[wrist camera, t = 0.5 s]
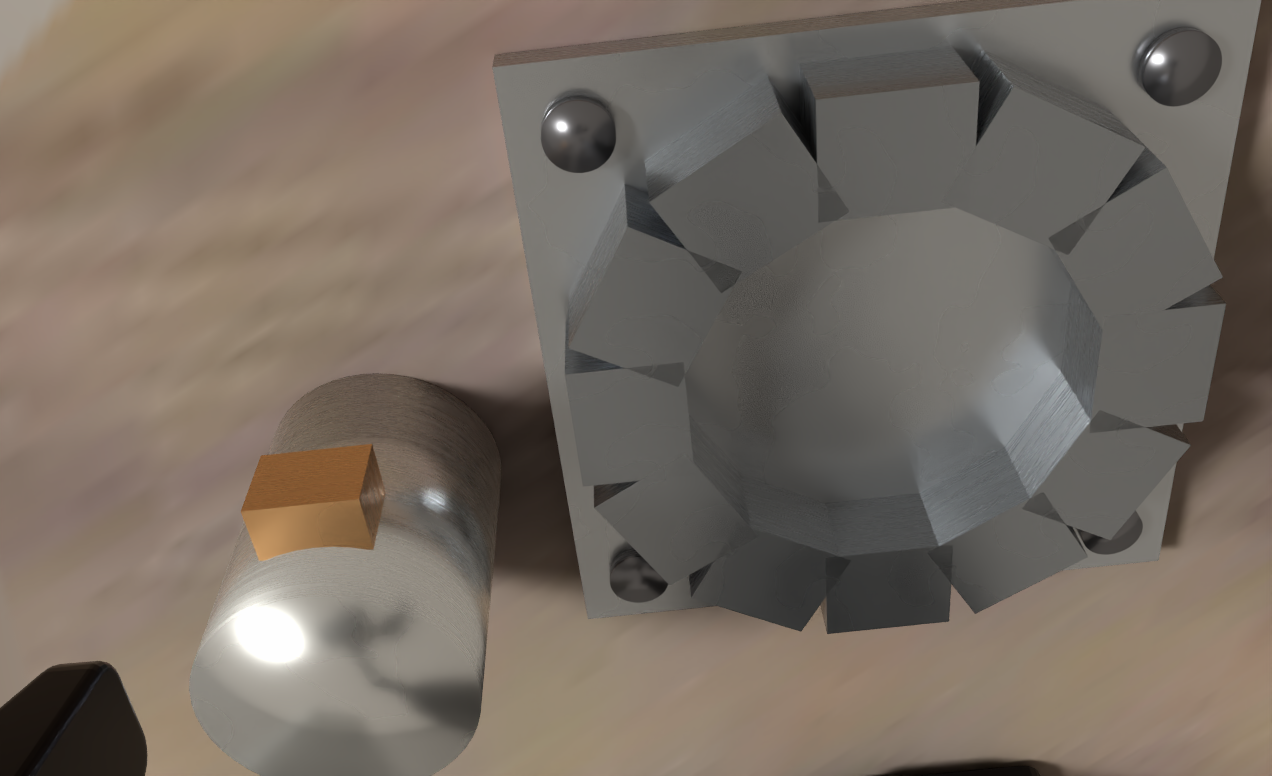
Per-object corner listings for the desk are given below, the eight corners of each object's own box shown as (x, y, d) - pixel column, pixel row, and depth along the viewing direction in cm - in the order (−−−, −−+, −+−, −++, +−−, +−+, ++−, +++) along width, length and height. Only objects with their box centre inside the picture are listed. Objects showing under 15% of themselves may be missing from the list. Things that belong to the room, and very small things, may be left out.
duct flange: (1147, 541, 26) (1190, 614, 24) (588, 599, 26) (588, 676, 24) (1247, -32, 19) (1317, 9, 17) (494, 54, 19) (486, 104, 18)
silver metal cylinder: (517, 542, 25) (502, 780, 20) (304, 564, 25) (236, 806, 20) (472, 322, 22) (440, 537, 17) (230, 348, 22) (130, 570, 17)
